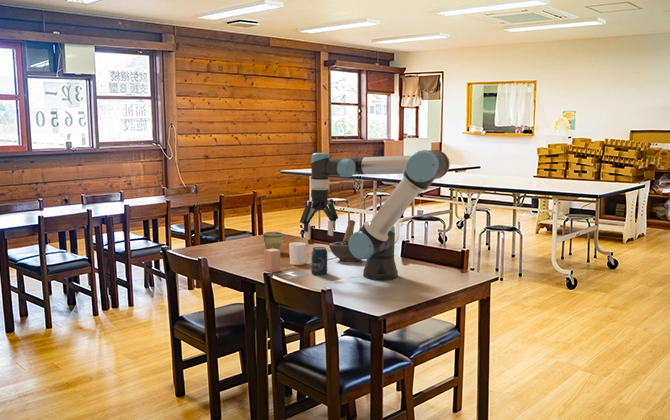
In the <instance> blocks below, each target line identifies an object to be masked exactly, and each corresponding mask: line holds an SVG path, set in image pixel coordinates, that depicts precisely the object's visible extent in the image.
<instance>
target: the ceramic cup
mask: <svg viewBox="0 0 670 420" xmlns="http://www.w3.org/2000/svg"><path fill="white" fill-rule="evenodd" d="M262 235H263V240H264V241H263V242H264V245H265V250H267V249H277V250H280V251H281V246H282V240H283V236H284V234H283V232H281V231H266V232H263V233H262Z"/></svg>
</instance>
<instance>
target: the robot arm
mask: <svg viewBox="0 0 670 420" xmlns="http://www.w3.org/2000/svg"><path fill="white" fill-rule="evenodd" d="M310 162H311V163H310V164H311V168H310V169H311V171H310V172H311V181H310V188H311V190H310V197H311V201H310V200H306V202H305V206H304V209H303V211H302V214H301V218H300V220H299V222H300V223H301V224H303V232H304V239H306V240H311V224H310V223H311V221H312V219H313V218H314V216H315V214H316V213H317V212H320V211H323V213H324V214H325V215H326V217H327V218H328V221H327V236H331V237H333V236H334V228H335V222H336V221H337V220H338V219H339V216H338V213H337V211H336V208H335V206H334V199H332V198H329V187H330V184H329V183H330V181H329V179H330V178H329V177H341V178H350V177H353V176H354V175H355V176H356V175H358V176H359V175H363V176H364V175H402V179H401V180H400V182H399V183H398V184H397V185H396V187H395V188H394V189H393V191H392V192H391V193H390V195H389V196H388V197H387V199H386V200H385V201H384V202H383V204H382V205H381V206H380V208H379V209H378V211H377V212H376V214H375V215H373V217H372V219H371V220H368V221H367V220H366V221H365V222H363V225H362V226H361V227H360V228H359V229H358V231H355V232H353V234H352V235H351V236H350V238H349V242H348V245H349V250H350V252H351V253H352V255H353V256H354V257H356V258H358V259H361V261H362V260H366V261H365V266H364V268H363V271H362V272H363V273H362V275H363V277H364V278H367V279H371V280H375V281H376V280H378V281H380V280H381V281H386V280H387V281H388V280H394V279H396V278H398V276H399V271H398V269H397V264H396V260H395V248H396V247H395V246H396V245H395V244H396V243H395V242H396V228H395V224H396V223H397V222H398V221H399V219H401V217H402V216H403V214H404V213H405V212H406V211H407V210H408V208H409V206H410V205H411V204H412V202H413V201H414V200H415V199H416V198H417V196H418V195H419V194H420V193H421V191H427V189H428V188H429V187H430V185H432V183H433V182H434V181H435V180H438V179H441V178H442V177H444V176H446V174H447V173H448V171H449V170H450V165H451V164H450V159H449V157H448V156H447V154H446V153H445V152H443V151H442V150H438V149H431V150H428V149H425V150H424V149H423V150H418V151H416V152H414V153H412V154H411V155H388V156H385V155H384V156H365V157H363V156H362V157H361V156H355V157H345V158H344V157H343V158H337V157H336V158H333V157H330V155H329V153H327V152H314V153H312V154H311V161H310Z"/></svg>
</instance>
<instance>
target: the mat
mask: <svg viewBox="0 0 670 420" xmlns="http://www.w3.org/2000/svg"><path fill="white" fill-rule="evenodd" d="M273 275H274V276H278V277H281V278H284V279H287V280H291V279H296V278H301V277H307V276H308V274H306V273H304V272H300V271H297V270H293V269H292V270H286V271H279V272H274V273H273Z"/></svg>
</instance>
